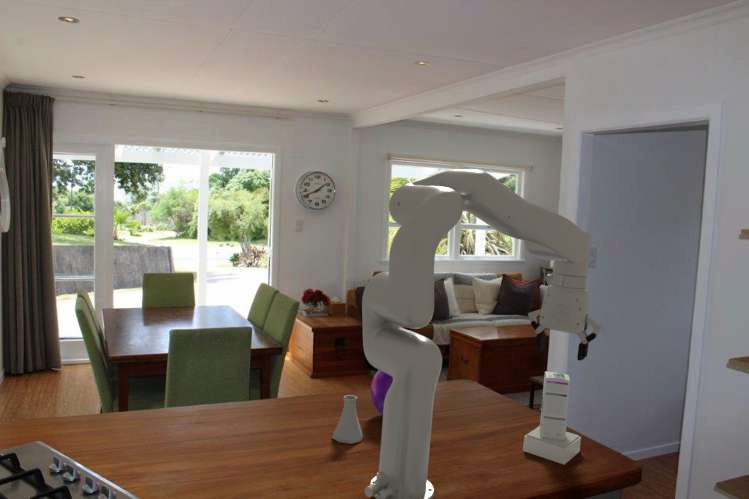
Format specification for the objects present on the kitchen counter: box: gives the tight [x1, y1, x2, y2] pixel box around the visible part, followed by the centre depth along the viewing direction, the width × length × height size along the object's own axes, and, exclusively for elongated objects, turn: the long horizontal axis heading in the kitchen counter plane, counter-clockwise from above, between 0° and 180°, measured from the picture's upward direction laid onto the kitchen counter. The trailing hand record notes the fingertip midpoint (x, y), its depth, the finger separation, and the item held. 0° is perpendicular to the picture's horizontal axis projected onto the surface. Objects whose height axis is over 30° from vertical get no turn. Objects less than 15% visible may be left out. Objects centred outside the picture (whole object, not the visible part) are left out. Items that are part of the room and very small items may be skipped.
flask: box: [331, 394, 364, 445], centre depth 143 cm, size 7×7×10 cm
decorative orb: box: [370, 369, 393, 416], centre depth 157 cm, size 15×15×15 cm
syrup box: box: [539, 371, 571, 441], centre depth 143 cm, size 6×6×14 cm
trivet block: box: [522, 425, 582, 466], centre depth 144 cm, size 10×10×4 cm
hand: (560, 354), depth 142 cm, fingers open, 9 cm apart
